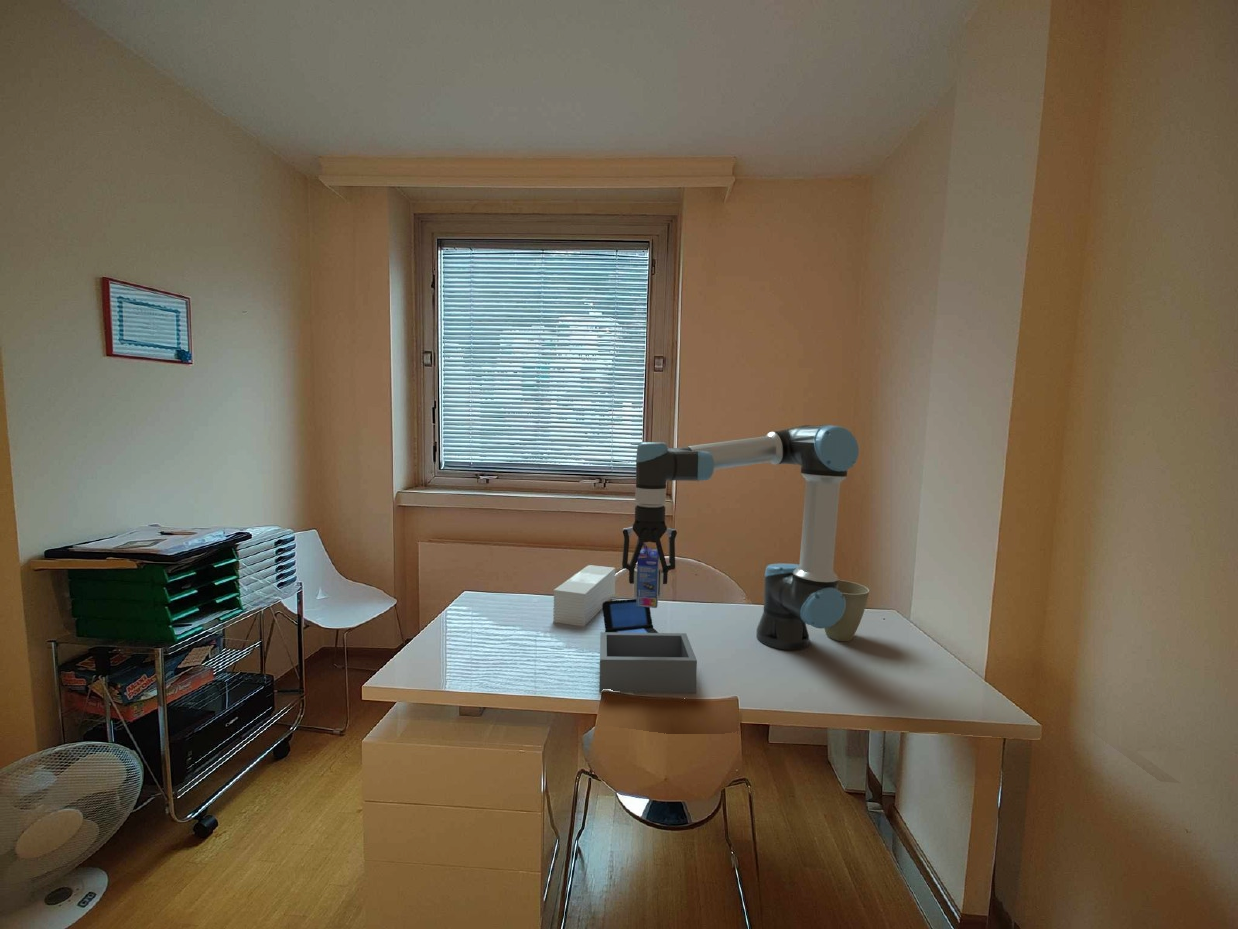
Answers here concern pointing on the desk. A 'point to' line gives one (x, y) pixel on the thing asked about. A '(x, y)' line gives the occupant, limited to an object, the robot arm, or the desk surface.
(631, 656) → the collection bin
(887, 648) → the desk surface
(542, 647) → the desk surface
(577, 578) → the stack of papers
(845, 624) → the plant pot
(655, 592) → the ink cartridge box
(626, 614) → the handheld game console
